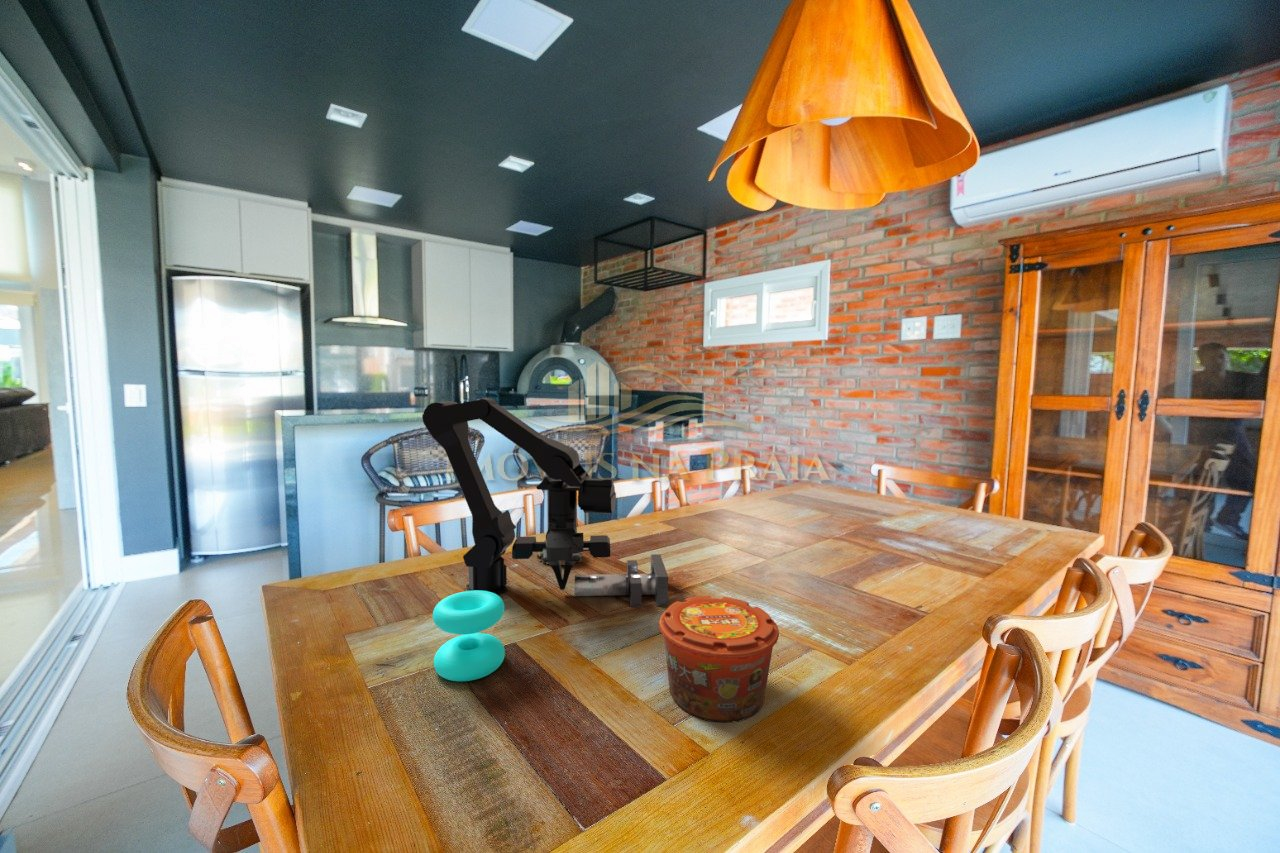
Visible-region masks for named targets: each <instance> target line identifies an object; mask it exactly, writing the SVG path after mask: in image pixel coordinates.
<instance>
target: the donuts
mask: <svg viewBox="0 0 1280 853" xmlns="http://www.w3.org/2000/svg"><path fill="white" fill-rule="evenodd" d="M504 613H505V602H504V600H503V599H502V597H500V595H498V593H496V594H495V593H492V592H488V591H481V590H473V591H469V590H466V591H461V592H457V593H452V594H451V595H448V596H446V597H445V598H443V599H441V600H440V601H439V602H438V603H437V604H436V605H435V607H434V608H433V612H432V621H433V623H434V624H435V626H436V627H437V628H438V629H440V630H441V631H443V632H445V633H447V634H452V635H457V636H456V637H453V638H451V639H449V640H447V641H446V642H444V643H443V644H442V645H441V646H440V647H439V648H438V650H437V651H436V653H435V655H434V658H433V666H434V671H435V672H436V673H437V675H439V676H440V677H441V678H443V679H445V680H448V681H453V682H470V681H476V680H479V679H483V678H484V677H486V676H489V675H491V674H492V673H494V672H495V671H496V670H497V669H498V668H499V667H501V665H502V663H503V662H504V660H505V655H506V649H505V646H504V644H503V643H502V641H501V640H500V639H499V638H498V637H496V636H494V635H492V634H489V633H483V631H486V630H489V628H492V627H494V625H496V624H497V623H498V622H499V621H500V619H501V618H502V617H503V615H504Z"/></svg>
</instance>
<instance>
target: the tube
mask: <svg viewBox="0 0 1280 853" xmlns="http://www.w3.org/2000/svg"><path fill="white" fill-rule="evenodd" d="M630 577H640V578H641V583H642V594H641V596H647V595H648V596H651V595H653V596H656V576H655V574H651V573H638V574H627V573H626V574H625V573H621V574H620V573H617V574H615V573H614V574H609V573H608V574H575V575H574V589H573V590H574V597H597V596H598V597H602V596H603V597H605V596H630Z"/></svg>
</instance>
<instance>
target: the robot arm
mask: <svg viewBox="0 0 1280 853" xmlns="http://www.w3.org/2000/svg"><path fill="white" fill-rule="evenodd" d="M421 419H422V423H423V425H424V426H425V428H426V430H427V431H428V433H429V434H430V436H431V438H432V439H433V440H434V441H435V442H436V443H437V444H438V445H439V446H441V448H443V451H444V453H445V454H446V456H447V459H448V461H449V463H450V466H451V467H452V471H453V473H454V476H455V478H456V480H457V484H458V486H459V487H460V490H461V491H462V494H463V497H464V500H465V502H466V503H467V507H468V510H469V511H470V514H471V518H472V520H471V523H472V524H471V533H472V538H473V542H474V545H473V546H472V547H471V548H470V549H469V550H468V551H467V552H466V553H465V554H463V556H462V559H463V561H464V564H465V566H466V567H468V584H466V586H465V587H466V588H465V589H467V591H473V590H481V591H488V592H492V593H495V594H500V593H504V592H508V587H507V584H508V583H507V582H508V581H507V580H508V578H507V577H508V576H507V575H508V574H507V573H508V571H507V569H508V568H507V564H505V559H504V557H502V556H503V555H504V554H506V551H507V549H508V548H509V547H510V546H512V547H511V557H512V558H511V559H513V560H529V559H530V558H531V557H532V556H533V553H538V552H543V562H548V563H549V564H550V565H549V566H550V567H551V569H552V571H553V573H554V575H555V578H556V581H557V584H558V587H559V590H560V591H562V590H563V591H564V590H565V589H566V586H567V584H568V580H569V577H570V573H571V571H572V569H573V567H574V565H575V564H576V563H575V562H579V561H580V562H581V561H582V555H581V553H583V552H589V554H590V555H591V556H592V557H593V558H595V559H597V558H610V557H611V538H610V537H609V536H608V535H607V534H605V535H604V534H601V535H590V537H589V539H590V540H584V538H585V537H584V532H578V508H579V509H580V511H583V513H585V514H605V515H606V514H607V515H608V514H612V515H614V513H615V510H616V503H617V492H616V490H615V484H614V478H613V477H605V478H590V477H591V476H590V474H588V472H587V471H586V469H585V468H584V467H583V465H582V464H581V463H580V456H579V453H578V452H577V450H576V449H575V448H572V447H571V446H569V445H567V444H565V443H562V442H561V441H557V440H555V439H552V438H549V437H547V436H545V435H542V433H539V432H538V431H536V429H534V428H532V427H531V426H530V425H528V424H527V423H526V422H524V421H523V420H521V419H520V418H519V417H517V416H515V414H513V413H511V412H510V411H508V410H507V409H506V408H504V407H502V406H501V405H500V404H498V403H497V401H496V400H495V399H494V398H491V397H490V398H489V397H484V398H477V399H475V400H471V401H466V402H460V403H458V402H456V401H451V400H449V401H437V402H432V403H430V404H428V405H426V407H425V409H424V410H423V413H422V416H421ZM475 420H481V421H482V422H484V423H485V424H487V425H488V426H490V427H491V428H492V429H493V430H495V431H496V432H498V433H500V434H501V435H502V436H503V437H505V438H507V439H508V440H509V441H510V442H512V443H513V444H515V445H516V446H518V447H519V448H521V449H522V451H523V450H524V451H525V452H526V453H527V454H528V455H529V456H530V457H531V458H532V459H533V461H534V462H535V464H536V466H538V467H539V468H540V470H542V471H543V472H544V473H545V474H546V476H545V477H543V479H542V481H541V482H540V483H539V484H537V485H536V486H535V487H536V490H540V491H541V490H542V491H543V490H545V491H547V495H546V496H547V501H546V502H547V506H546V508H547V516H546V517H547V531H546V533H545V540H546V542H544V541H537V537H536V536H518V537H517V538H516V532H515V530H516V528H517V526H516V525H515V524H514V523H513V522H514V521H512V516H511V513H510V510H509V509H506V510H504V511H501V510H500V509H499V508H498V507H497V506H496V504H495V502H494V500H493V497H492V495H491V493H490V491H489V487H488V486H487V483H486V481H485V478H484V476H483V474H482V471H481V469H480V466H479V464H478V461H477V459H476V456H475V454H474V452H473V449H472V447H471V445H470V442H469V423H468V422H470V421H475ZM515 538H516V539H515ZM561 560H564V561H565V566H564V569H563V566H561ZM580 562H579V563H580ZM574 563H575V564H574Z"/></svg>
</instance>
